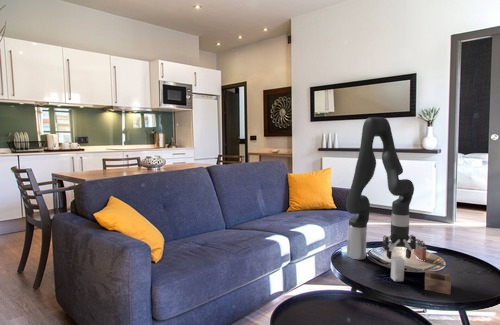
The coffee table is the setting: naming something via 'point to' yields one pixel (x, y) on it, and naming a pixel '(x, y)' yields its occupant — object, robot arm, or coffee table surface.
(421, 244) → the terracotta planter
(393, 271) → the square peg
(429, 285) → the slot holder
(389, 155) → the robot arm
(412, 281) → the coffee table surface
